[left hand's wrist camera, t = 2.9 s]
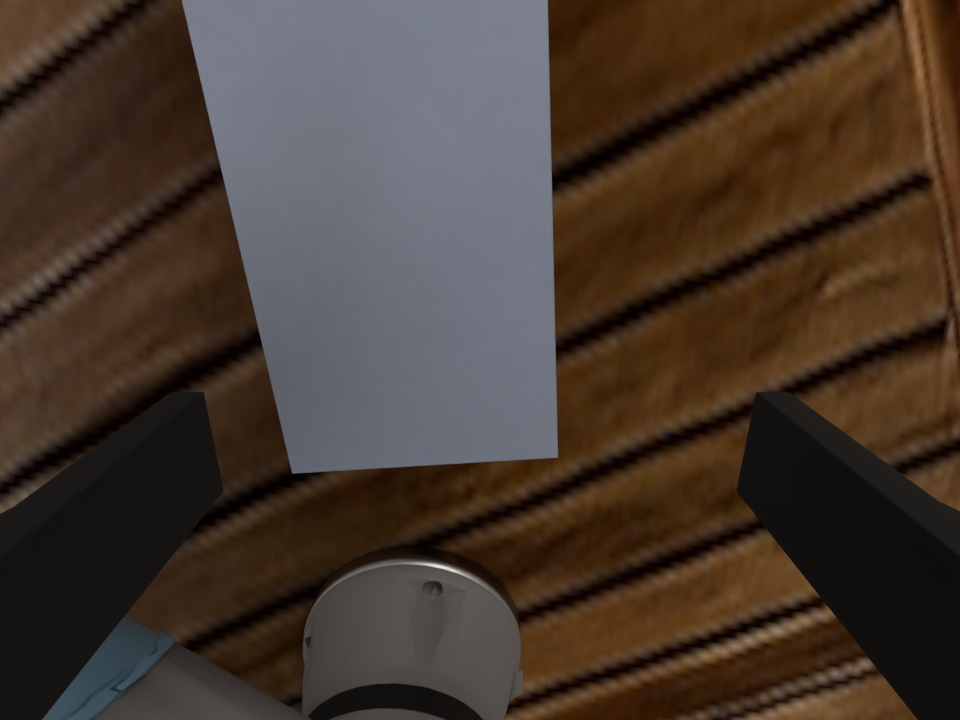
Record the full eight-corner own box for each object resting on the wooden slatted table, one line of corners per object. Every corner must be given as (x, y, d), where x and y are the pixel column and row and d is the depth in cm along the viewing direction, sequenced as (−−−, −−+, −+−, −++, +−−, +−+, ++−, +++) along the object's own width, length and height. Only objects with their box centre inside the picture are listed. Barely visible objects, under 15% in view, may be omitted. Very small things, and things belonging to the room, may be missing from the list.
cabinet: (300, 41, 25) (169, -47, 14) (519, 22, 24) (546, -82, 14) (356, 369, 31) (291, 474, 20) (532, 358, 30) (558, 458, 20)
